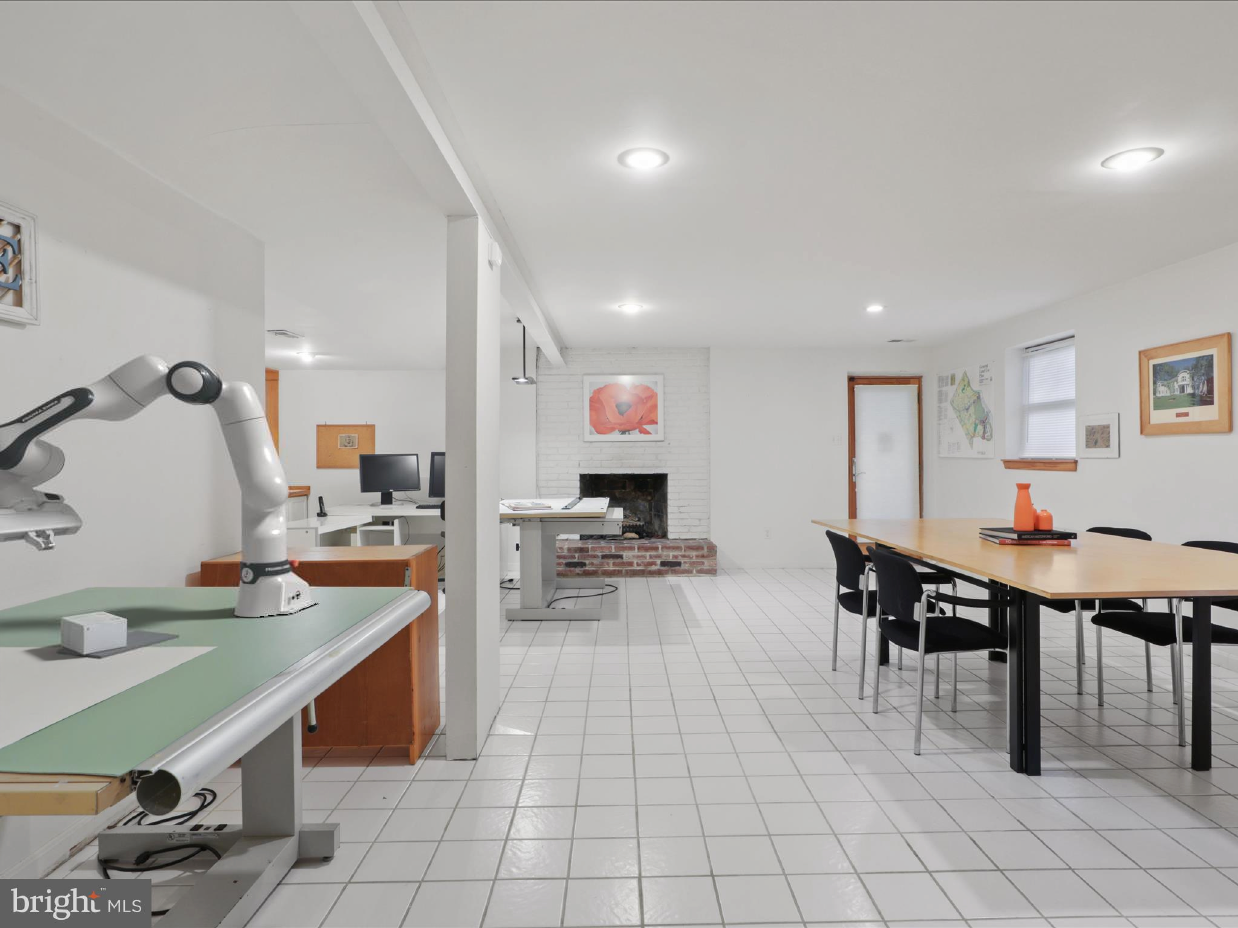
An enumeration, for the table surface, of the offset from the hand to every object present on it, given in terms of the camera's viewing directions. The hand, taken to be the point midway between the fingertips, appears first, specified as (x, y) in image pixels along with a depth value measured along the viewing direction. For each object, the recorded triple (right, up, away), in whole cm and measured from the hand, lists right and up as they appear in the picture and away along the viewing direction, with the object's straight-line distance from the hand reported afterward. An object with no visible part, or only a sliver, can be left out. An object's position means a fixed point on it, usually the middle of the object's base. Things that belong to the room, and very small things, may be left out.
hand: (47, 548), depth 159 cm
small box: (+13, -17, -6) cm, 22 cm away
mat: (+22, -21, -7) cm, 31 cm away
